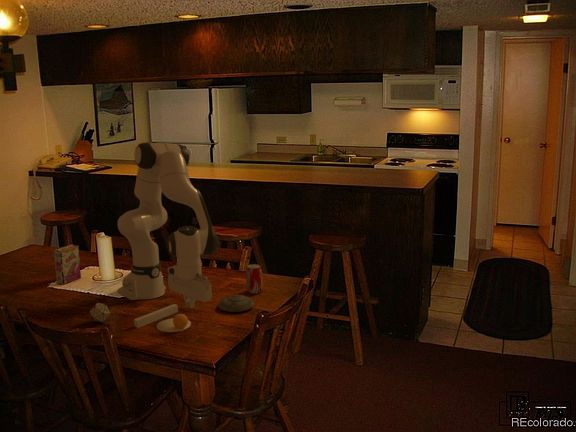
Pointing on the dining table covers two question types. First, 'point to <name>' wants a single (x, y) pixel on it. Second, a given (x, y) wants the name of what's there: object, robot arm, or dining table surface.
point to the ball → (180, 321)
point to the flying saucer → (236, 303)
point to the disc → (170, 326)
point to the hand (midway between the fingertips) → (190, 306)
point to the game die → (100, 312)
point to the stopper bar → (155, 315)
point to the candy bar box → (67, 264)
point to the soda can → (254, 278)
